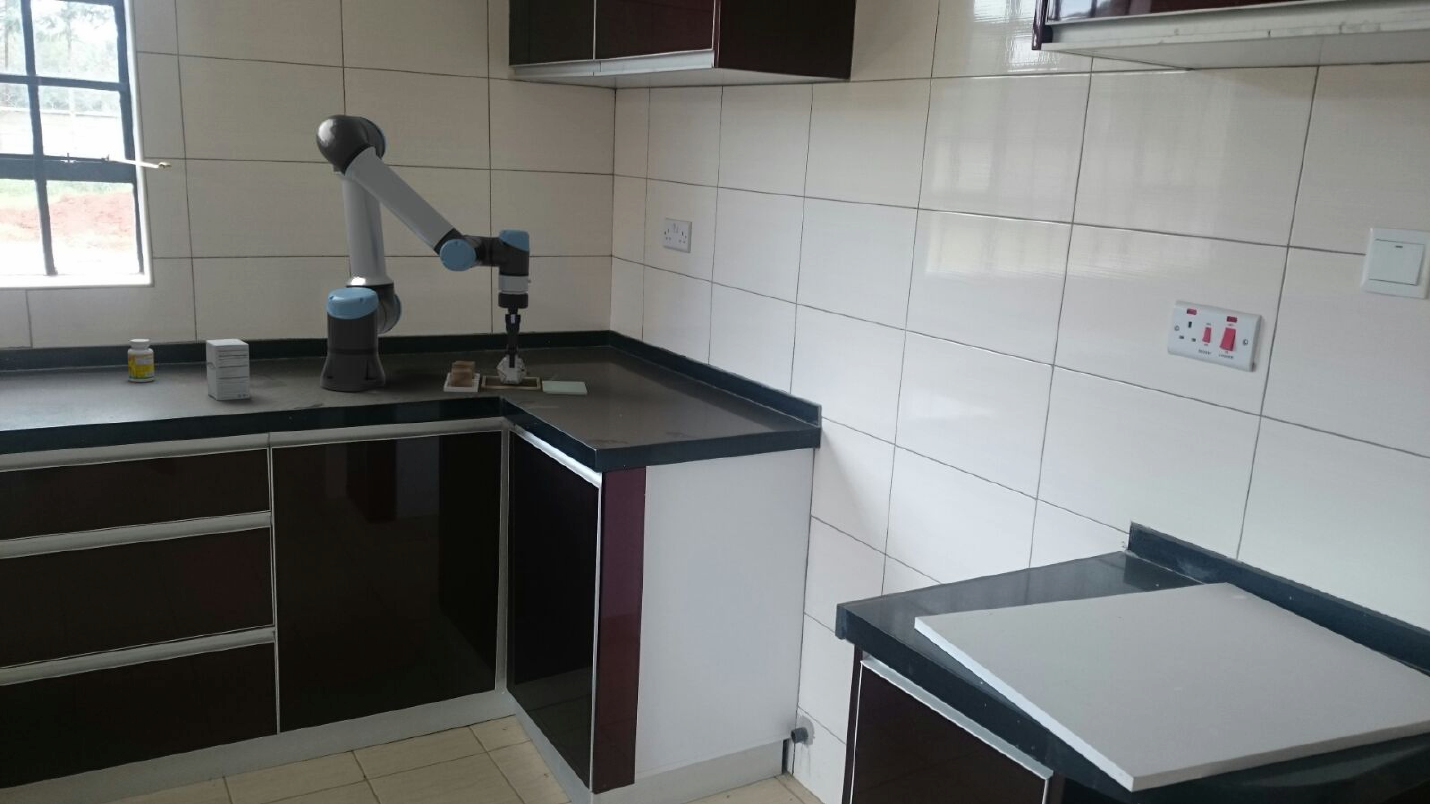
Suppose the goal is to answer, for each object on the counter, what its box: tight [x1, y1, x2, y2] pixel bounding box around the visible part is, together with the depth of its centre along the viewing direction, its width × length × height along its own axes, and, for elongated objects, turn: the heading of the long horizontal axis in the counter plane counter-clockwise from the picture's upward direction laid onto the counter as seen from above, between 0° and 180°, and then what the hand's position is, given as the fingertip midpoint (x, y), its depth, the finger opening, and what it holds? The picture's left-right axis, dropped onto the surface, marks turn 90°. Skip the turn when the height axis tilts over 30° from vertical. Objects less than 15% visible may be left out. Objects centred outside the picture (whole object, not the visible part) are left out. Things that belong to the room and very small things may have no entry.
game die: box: [492, 353, 531, 386], centre depth 273 cm, size 9×8×10 cm
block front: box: [450, 368, 472, 387], centre depth 263 cm, size 4×4×4 cm
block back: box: [451, 360, 476, 379], centre depth 273 cm, size 4×4×4 cm
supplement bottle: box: [127, 338, 155, 383], centre depth 251 cm, size 5×5×10 cm
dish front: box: [443, 380, 480, 393], centre depth 264 cm, size 8×8×2 cm
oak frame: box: [480, 375, 542, 391], centre depth 273 cm, size 15×14×1 cm
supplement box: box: [205, 338, 251, 401], centre depth 241 cm, size 7×7×13 cm
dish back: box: [445, 372, 481, 383], centre depth 273 cm, size 8×8×2 cm
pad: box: [541, 380, 588, 396], centre depth 274 cm, size 11×13×1 cm
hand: (511, 375), depth 273 cm, fingers open, 12 cm apart
